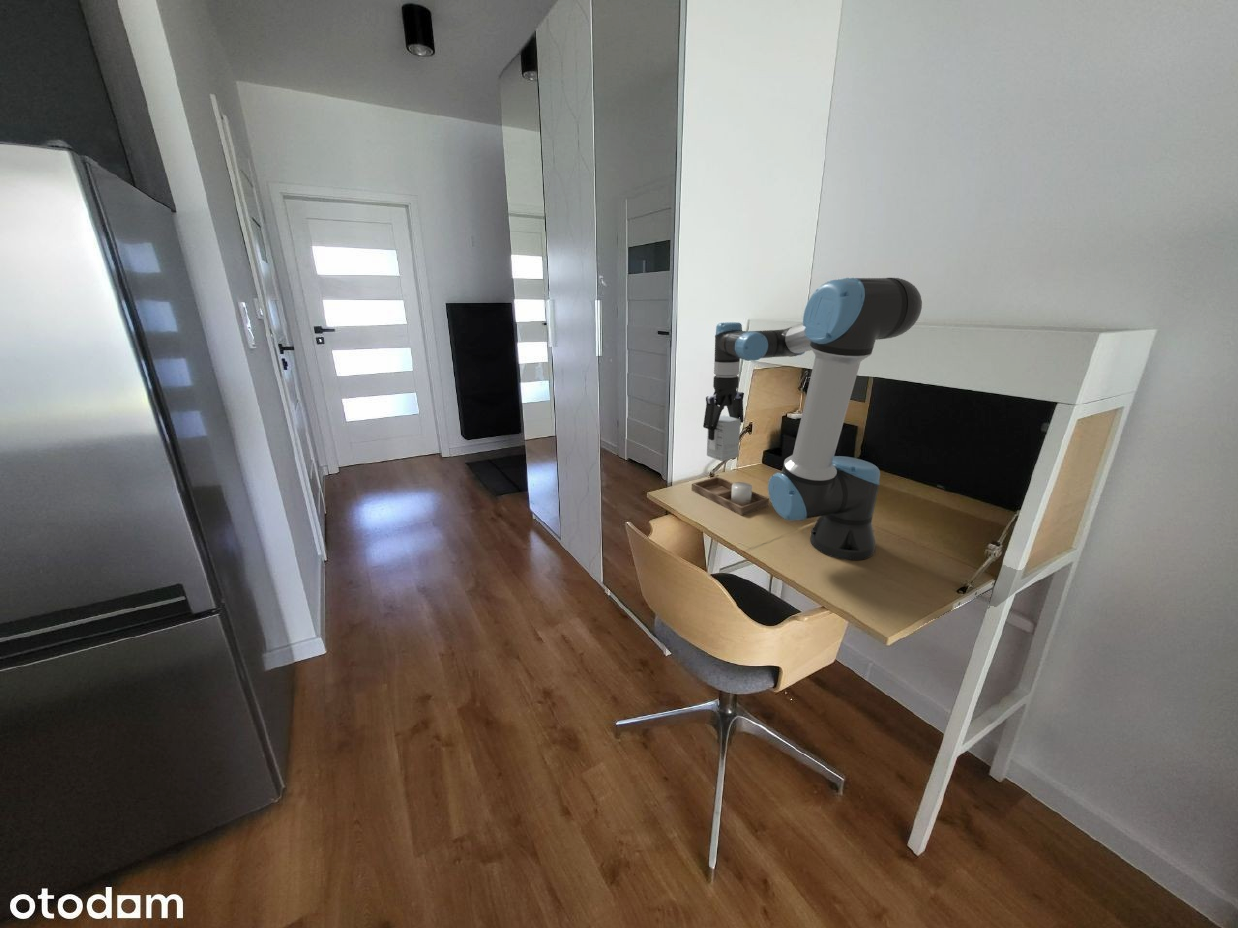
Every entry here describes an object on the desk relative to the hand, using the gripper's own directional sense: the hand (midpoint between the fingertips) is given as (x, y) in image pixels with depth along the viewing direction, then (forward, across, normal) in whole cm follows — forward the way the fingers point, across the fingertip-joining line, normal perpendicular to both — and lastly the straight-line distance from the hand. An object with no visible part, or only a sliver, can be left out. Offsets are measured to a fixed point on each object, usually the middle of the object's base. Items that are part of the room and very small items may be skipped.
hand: (722, 446), depth 147 cm
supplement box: (+3, 0, 0) cm, 3 cm away
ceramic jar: (+15, +2, +11) cm, 19 cm away
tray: (+16, +2, +6) cm, 17 cm away
